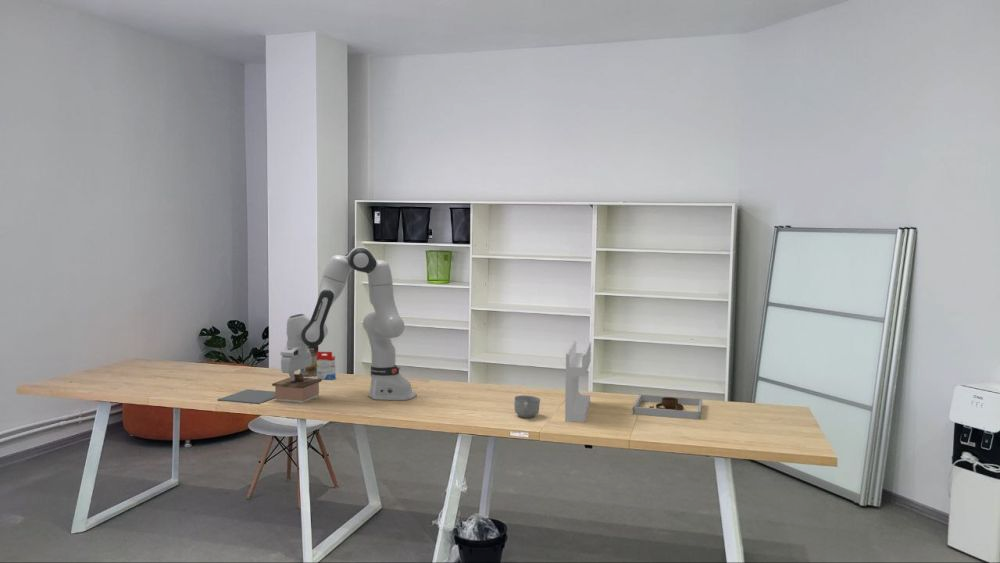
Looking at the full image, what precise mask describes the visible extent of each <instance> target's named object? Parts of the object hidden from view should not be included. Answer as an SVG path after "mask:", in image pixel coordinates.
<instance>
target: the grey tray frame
mask: <svg viewBox="0 0 1000 563" xmlns="http://www.w3.org/2000/svg"><path fill="white" fill-rule="evenodd" d="M664 397H672V398H677V399H678V404H681V405H683V406H685V405H686V406H687V405H688V406H698V410H697V411H693V410H669V409H657V408H655V407H653V408H650V407H643V406H640V405H641V402H645V403H646V402H647V403H656V404H659V403H662V398H664ZM702 409H703V398H695V397H682V396H667V395H654V394H642V393H641V394H640V393H639V395H638V396H637V399H636V400H635V402H634V404H633V406H632V415H640V416H650V417H651V416H652V417H663V418H664V417H665V418H677V419H691V420H701V416H702V411H703V410H702Z"/></svg>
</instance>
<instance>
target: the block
mask: <svg viewBox="0 0 1000 563" xmlns="http://www.w3.org/2000/svg"><path fill="white" fill-rule="evenodd" d="M591 345H592V342H591V341H588V342H587V343H586V346H585V348H584V351H583V352H577V341H576V340H575V341H574V340H573V341H572V342H571V344H570V346H569V348H568V350H567V351H566V353H565V394H564V395H565V398H564V399H565V400H564V401H565V402H564V403H565V405H564V408H565V409H564V422H569V423H586V419H587V416H588V412H589V408H590V403H591V394H590V395H589V394H581V393H580V390H579V387H580V386H579V385H580V383H579V382H580V381H579V380H580V377H586V376H587V373H588V371H589V370H588V369H589V367H590V364H591V356H592V353H591V351H592V348H591V347H592V346H591Z"/></svg>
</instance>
